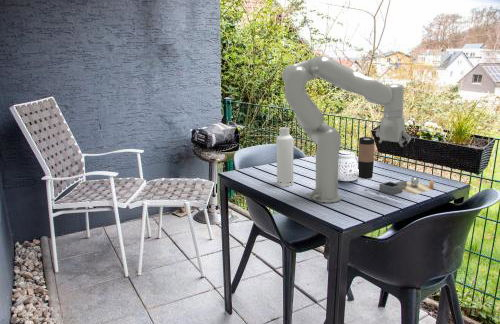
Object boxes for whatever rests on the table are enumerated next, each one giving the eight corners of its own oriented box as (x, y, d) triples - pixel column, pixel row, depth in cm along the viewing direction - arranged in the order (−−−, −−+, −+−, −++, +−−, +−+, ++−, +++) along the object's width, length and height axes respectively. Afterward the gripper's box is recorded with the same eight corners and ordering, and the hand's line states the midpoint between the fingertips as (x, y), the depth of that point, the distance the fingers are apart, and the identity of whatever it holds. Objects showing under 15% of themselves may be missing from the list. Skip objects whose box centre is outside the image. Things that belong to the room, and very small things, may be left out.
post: (415, 187, 174) (415, 179, 173) (409, 186, 176) (410, 178, 175) (419, 186, 175) (420, 178, 174) (413, 185, 178) (414, 176, 177)
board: (415, 197, 166) (415, 194, 165) (390, 189, 176) (390, 187, 176) (436, 190, 173) (436, 187, 173) (410, 183, 184) (411, 181, 184)
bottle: (292, 187, 185) (292, 129, 178) (275, 186, 186) (274, 129, 179) (294, 182, 192) (293, 126, 185) (278, 181, 194) (277, 126, 187)
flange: (391, 197, 166) (392, 188, 165) (379, 193, 172) (379, 184, 171) (410, 191, 173) (411, 182, 171) (397, 188, 178) (398, 179, 177)
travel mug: (355, 177, 196) (357, 139, 191) (359, 174, 202) (360, 136, 197) (371, 179, 192) (373, 140, 187) (374, 175, 199) (376, 137, 194)
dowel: (431, 189, 171) (432, 181, 171) (428, 188, 173) (429, 180, 172) (433, 188, 172) (434, 181, 171) (430, 187, 174) (431, 180, 173)
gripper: (370, 113, 168) (370, 151, 172) (405, 117, 154) (404, 158, 158) (382, 111, 172) (381, 149, 176) (417, 114, 158) (415, 155, 162)
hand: (392, 153), depth 167 cm, fingers open, 9 cm apart
